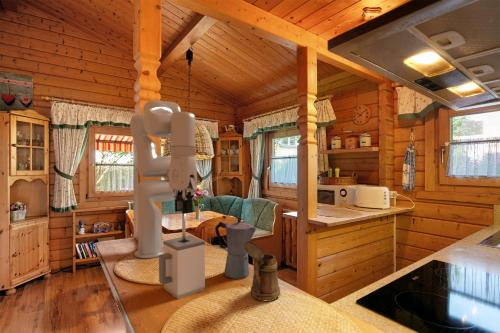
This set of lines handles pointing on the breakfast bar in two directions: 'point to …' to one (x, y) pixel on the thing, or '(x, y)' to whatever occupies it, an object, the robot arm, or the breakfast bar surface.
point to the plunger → (179, 207)
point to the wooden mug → (263, 273)
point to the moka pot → (236, 247)
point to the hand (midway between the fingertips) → (183, 211)
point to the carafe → (182, 266)
